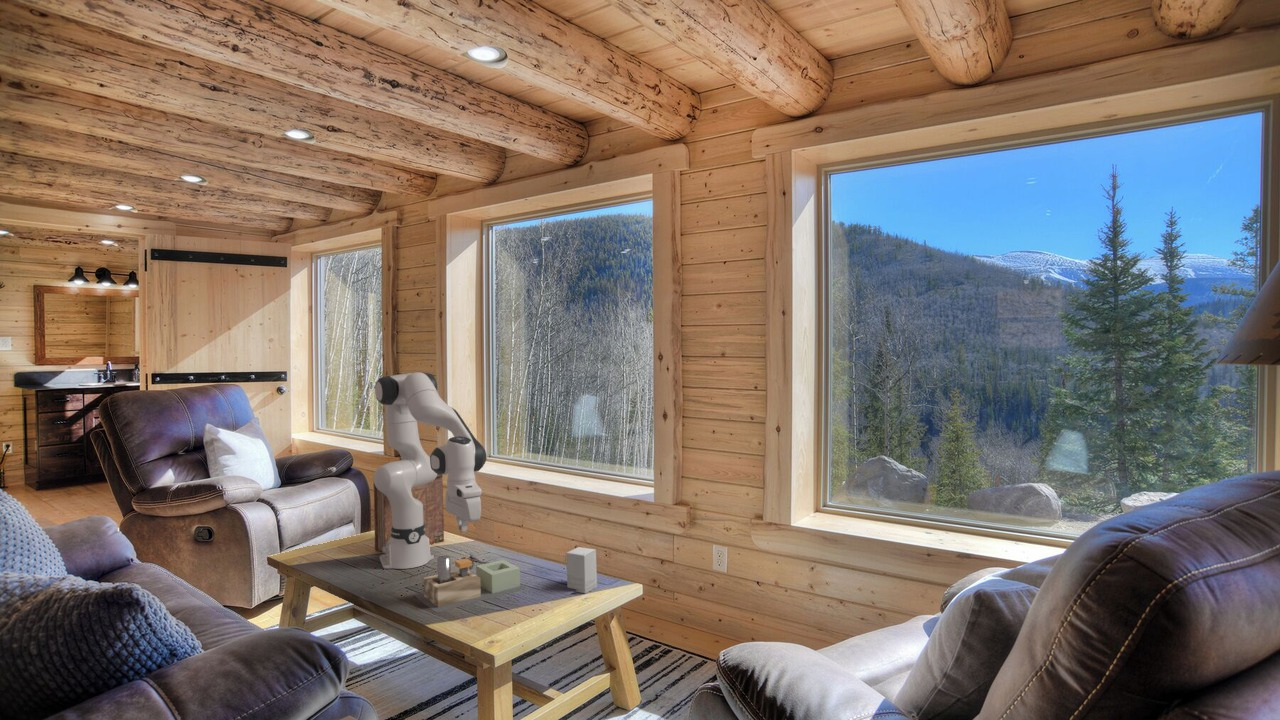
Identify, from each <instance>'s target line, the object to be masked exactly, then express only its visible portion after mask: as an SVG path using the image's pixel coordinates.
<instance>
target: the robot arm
mask: <svg viewBox="0 0 1280 720" xmlns="http://www.w3.org/2000/svg"><path fill="white" fill-rule="evenodd" d="M374 392H375V393H374V394H375V397H376V400H377V401H378V402H379V403H380V404H381V405H385V427H386V438H387V443H388V446H389V447H390V448H391V449H393V450H395V451H397V452H398V454H399V456H400V457H401V458H400V459H401V460H396V461H391V462H387V463H385V464H383V465H381V466H379V467H377V468H376V470H375V471H374V475H373V485H374V484H375V486H376V488H377V489H378V490H379V491H381V492H382V493H384V494H385V495H386V496H387V498H388V500H389V502H390V505H391V509H392V524H393V526H392V528H391V538H390V539H389V540H388V542H387V543H386V547H382V551H383V552H382V551H381V552H382V554H381V555H379V561H380V563H381V566H382V568H383V569H384V570H385V569H395V570H396V569H399V570H401V569H402V570H403V569H413V568H417V567H421V566H424V565H426V564H428V563H429V562H430V561H432V560H433V559H435V556H434V554H431V548H430V547H431V545H429V538H428V537H427V536H425V524H424V520H423V504H422V503H421V502H420V501H419V500H418V499H415V498H413V496H412V492H411V488H414V487H418V486H423V485H426V484H428V483H430V482H431V481H433V480H435V478H436V477H437V474H438V475H442V476H446V475H447V479H446V481H447V482H446V485H447V486H446V487H447V489H446V492H445V502H444V503H445V505H444V506H445V511H446V512H447V513H449V514H451V515H453V516H455V518H456V522H457V526H458V529H457V530H458V531H461V532H467V531H468V524H469V523H473V522H479V520H480V519H481V514H482V500H481V496H482V493H483V492H482V488H481V487H480V486H479V485H478V483H477V481H476V474H475V473H476V472H479V471H480V470H481V469H482V468H483V467H484V466H485V464H486V462H487V457H488V456H487V452H486V450H485V447H484V446H483V445H482V443H481V442H479V441H478V440H477V438H476V437H475V436H474V434H473V432H472V431H471V430H470V428H469V427H468V426H467V423H465V421H464V419H463V418H462V417H461V415H460V413H459V412H458V411H457V410H456V409H455V408H453V407H452V406H450V405H448V404H447V403H446V402H445V401H444V400H443V399H442V398H441V396H440V395H439V392H438V382H437V379H436V377H435V376H434V375H433V374H432V373H428V372H419V371H417V372H416V371H415V372H407V373H406V372H405V373H402V374H401V373H399V374H394V375H390V376H389V375H385V376H381V377H380V378H378V380H377V381H376V382H375V385H374ZM418 423H421V424H423V425H426V426H428V425H429V426H435V427H438V428H443V429H446V430H448V431H449V432H451V434H452V435H453V437H450V438H449V439H447V441H446V443H445V444H442V445H440V446H437V447H435V448H434V449H433V450H432V452H431V454H430V456H429V455H428V454H427V453H426V452H425V450H424V448H423V446H422V443H421V440H420V434H419V427H418ZM385 553H386V554H385Z"/></svg>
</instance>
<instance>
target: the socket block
mask: <svg viewBox="0 0 1280 720" xmlns="http://www.w3.org/2000/svg"><path fill="white" fill-rule="evenodd" d="M423 593H424V597H425V598H427V599H428V600H429V601H430V602H432V603H433V604H434V605H436V606H437V607H442V606H446V605H450V604H453V603H457V602H461V601H465V600H469V599H473V598H477V597H480V596H481V584H480V577H478V576H477V575H476V574H474V573H473V572H471V571H470V570H468V576H465V577H460V573H459V569H457V570H451V581H450V582H446V583H442V584H438V574H434V575H430V576H426V577H423Z"/></svg>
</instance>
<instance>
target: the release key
mask: <svg viewBox="0 0 1280 720" xmlns="http://www.w3.org/2000/svg"><path fill="white" fill-rule="evenodd" d="M467 558H468V557H466V559H464V558H462V559H458V560H457V559H456V560H455V561H454V566H455V567H457V568H458V570H459V573H460V577H465V576H468V571H469V567H470V566H472V561H470V560H469V559H470V558H469V559H467Z"/></svg>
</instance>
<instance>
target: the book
mask: <svg viewBox="0 0 1280 720" xmlns="http://www.w3.org/2000/svg"><path fill="white" fill-rule="evenodd" d="M443 491H444V486H443V475H438V474H437V477H436V478H435V480H433V481H431V482H430V483H428V484H426V485H423V486H418V487H414V488H411V492H412V496H413V498H415V499H418V500H419V501H420V502H421V503H422V504H423V520H424V524H425V536H427V537H428V538H429V546H431V545H434V543H435V544H437V543H442V542H444V541H445V535H444V533H445V531H444V492H443ZM373 513H374V514H373V516H374V519H373V520H374V551H375V550H378V551H380V552H382V553H383V551H382V547H386V543H387V542H388V540H389V539H390V538H391V528H392V526H393V524H392V509H391V505H390V502H389V500H388V498H387V496H386V495H385V494H384V493H382V492H381V491H379V490H378V489H377V488H376V486H375V484H374V483H373ZM430 544H431V545H430ZM384 554H386V553H384Z"/></svg>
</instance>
